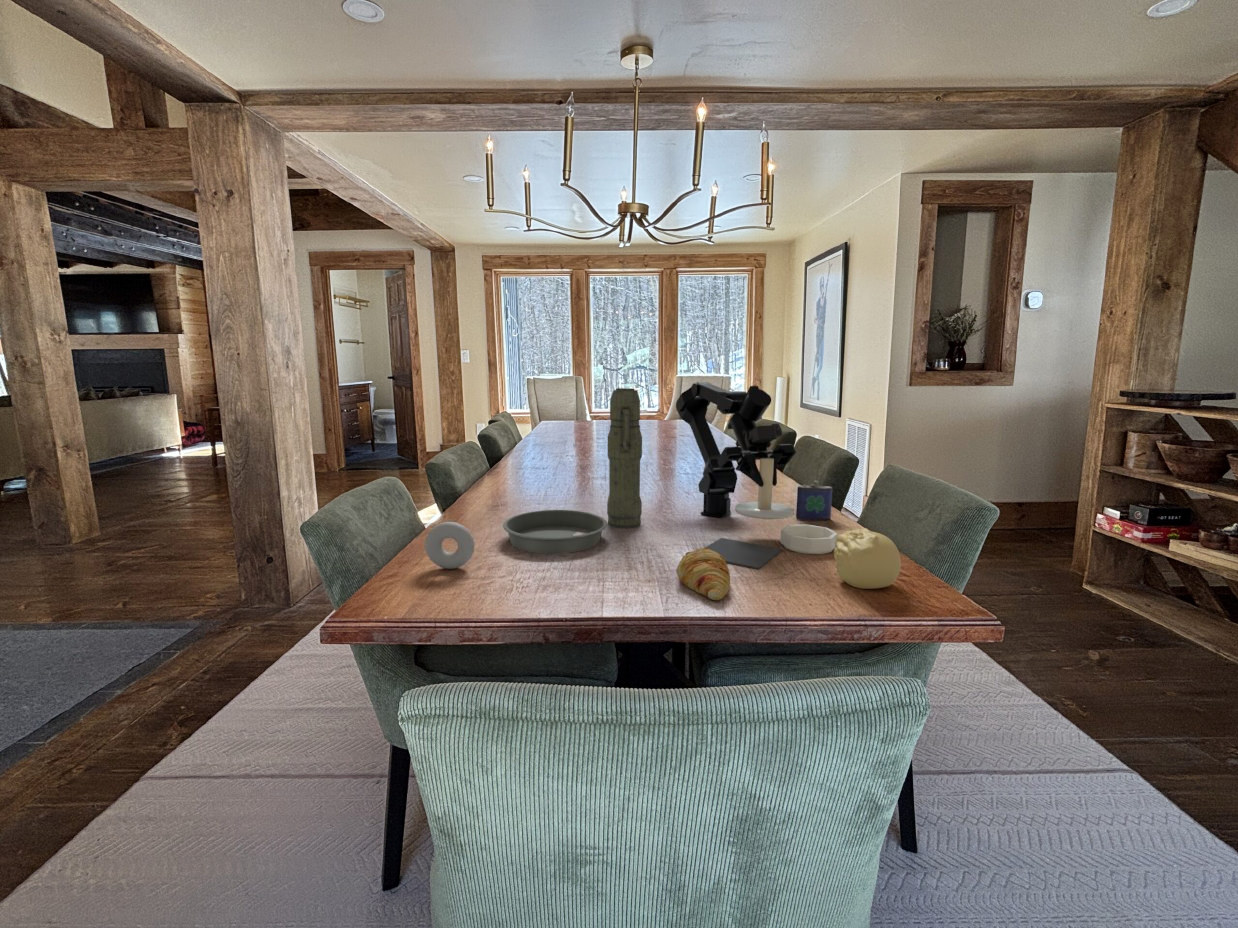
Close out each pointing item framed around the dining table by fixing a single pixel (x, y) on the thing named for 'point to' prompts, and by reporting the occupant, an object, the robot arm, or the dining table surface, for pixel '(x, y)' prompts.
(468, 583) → the dining table surface
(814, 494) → the flask
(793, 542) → the bowl
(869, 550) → the sculpture
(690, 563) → the croissant
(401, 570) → the dining table surface
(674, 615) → the dining table surface
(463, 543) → the donut
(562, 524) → the cake pan
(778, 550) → the mat
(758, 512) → the lid
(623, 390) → the thermos
